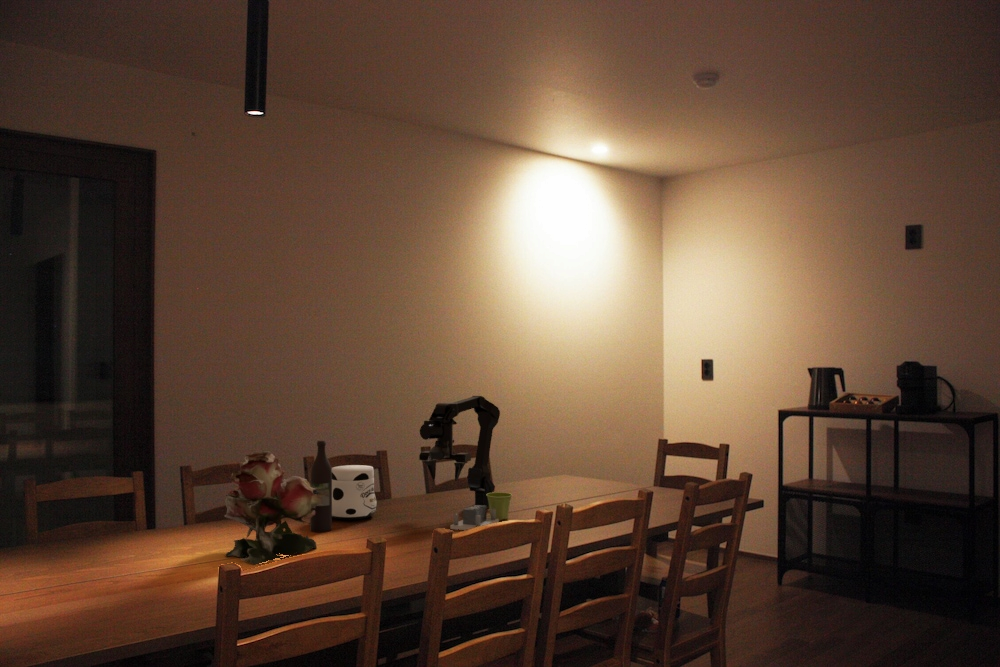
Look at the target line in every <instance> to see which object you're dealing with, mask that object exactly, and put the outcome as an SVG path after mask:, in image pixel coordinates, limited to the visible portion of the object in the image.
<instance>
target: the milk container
mask: <svg viewBox="0 0 1000 667" xmlns="http://www.w3.org/2000/svg"><path fill="white" fill-rule="evenodd" d="M331 469H332V518H334V519H338V520H346V521H347V520H349V521H350V520H353V521H354V520H361V519H368V518H370V517H372V516H374V514H375V513H376V510H377V504H378V503H377V498H376V493H375V477H374V476H375V471H374V467H373V466H372V465H361V464H350V465H349V464H347V465H338V466H334V467H331Z"/></svg>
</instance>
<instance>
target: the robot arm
mask: <svg viewBox="0 0 1000 667" xmlns="http://www.w3.org/2000/svg"><path fill="white" fill-rule="evenodd" d="M469 410H473V411H474V413H475V414H476V415H477V422H478V425H479V433H478V441H477V447H476V453H475V459H474V464H473V466H472V467H469V468H468V469H467V476H466V480H467V481H466V482H467V484H468V488H469V491H471V492H474V505H484V506H487V509H490V508H489V501H488V497H487V496H486V494H488V493H493V492H495V489H496V485H495V484H494V483H493V482H492V480H491V471H490V469H489V467H488V465H489V457H490V451H491V444H492V437H493V433H494V432H493V431H494V429H495V427H496V426H497V424H498V423H499V419H500V417H501V416H500V415H501V410H500V409H499V407H498V406H497V405H495V403H492V402H491V401H490V400H487V399H486V398H485V397H484V396H482V395H472V396H470V397H467V398H464V399H460V400H457V401H454V402H438V403H436V404H435V407H434V409H433V411H432V413H431V415H430V416H429V418H428V420H426V419H425V420H423V424H422V425H421V426H420V428H419V434H420V437H421V439H422V440H426V441H428V440H434V439H436V440H435V442H434V446H432V447H431V449H430V450H425V451H421V452H420V453H419V455H418V460H419V461H422V463H424V464H425V465H426V466H427V467H428V470H429V473H430V475H431V479H432V480H435V479H436V470H437V469H436V468H437V460H438V461H442V460H454V461H455V462H453V465H454V470H455V471H454V481H455V482H458V480H459V477H460V476H461V473H462V470H463V468H464V466H465V465H466V464H468V462H471V461H472V456H471V454H470V452H459V453H458V452H457V453H455V450H454V448H453V445H454V443H455V439H454V438H453V437H454V436H453V435H454V434H453V433H454V432H453V429H454V428H453V425H457V423H458V422H456V420H454V419H455V417H458V415H459V414H461V413H462V412H466V411H469Z"/></svg>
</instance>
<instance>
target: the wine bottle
mask: <svg viewBox="0 0 1000 667" xmlns="http://www.w3.org/2000/svg"><path fill="white" fill-rule="evenodd" d="M326 445H327V442H326V440H324V439H322V440H317V441H316V446H317V452H316V456H315V459H314V461H313V463H312V466H311V468H310V469H311V470H310V487H312V488H315V489H316V490H313V491H312V492H313V494H317V495H318V496H319V497H320V498H321V502H320V503H318V504H317V505H316V507H315V508H311V509H310V510H309V511H314V510H315V515H314V516H312V517H311V518H309V520H310V522H309V523H311V524H309V525H310V526H309V528H310V529H309V530H310V532H313V531H314V532H313V533H325V532H326V531H327V532H329V531H332V528H333V524H332V523H333V517H332V465H331V463H330V461H329V459H328V457H327V453H326ZM327 532H326V533H327Z"/></svg>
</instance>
